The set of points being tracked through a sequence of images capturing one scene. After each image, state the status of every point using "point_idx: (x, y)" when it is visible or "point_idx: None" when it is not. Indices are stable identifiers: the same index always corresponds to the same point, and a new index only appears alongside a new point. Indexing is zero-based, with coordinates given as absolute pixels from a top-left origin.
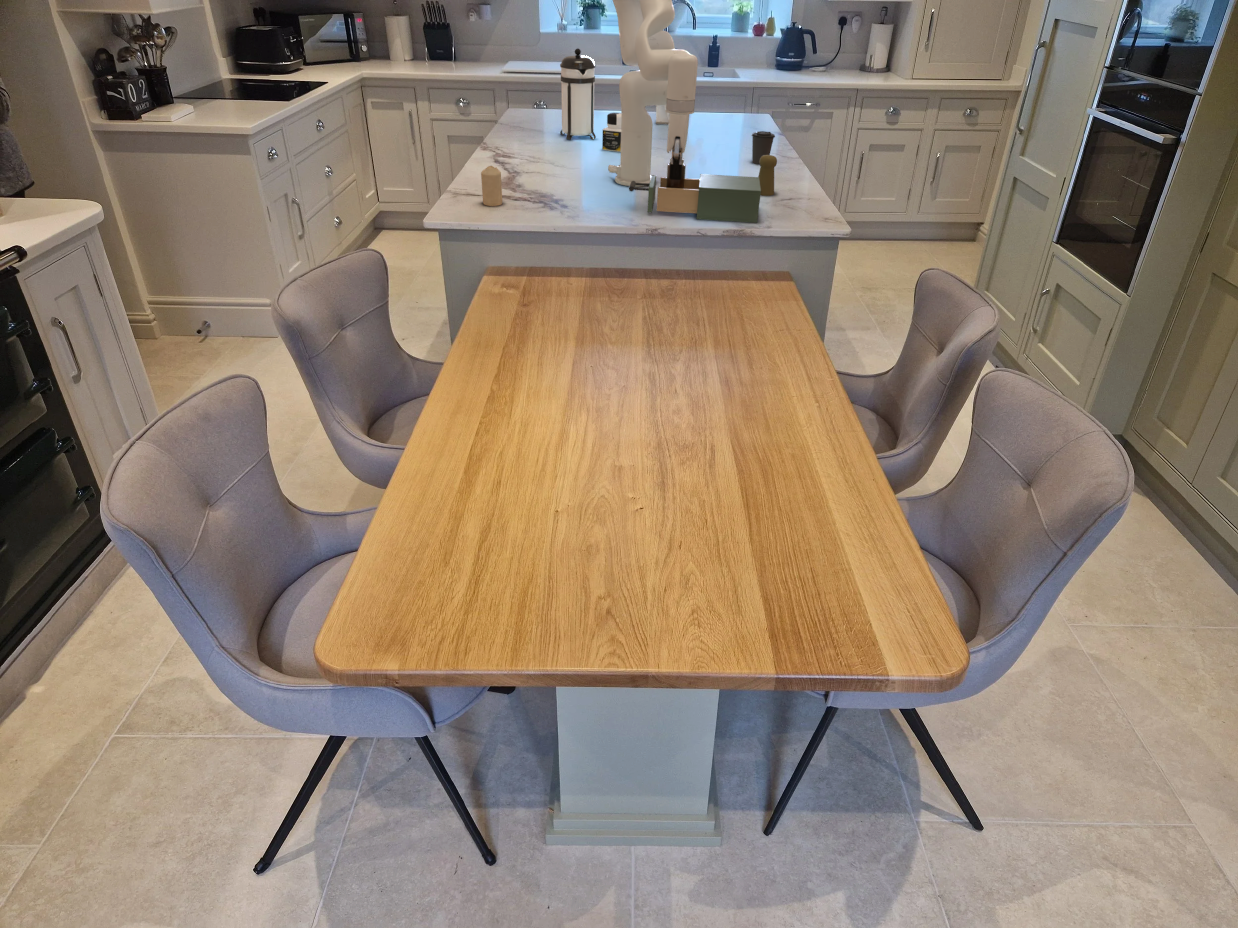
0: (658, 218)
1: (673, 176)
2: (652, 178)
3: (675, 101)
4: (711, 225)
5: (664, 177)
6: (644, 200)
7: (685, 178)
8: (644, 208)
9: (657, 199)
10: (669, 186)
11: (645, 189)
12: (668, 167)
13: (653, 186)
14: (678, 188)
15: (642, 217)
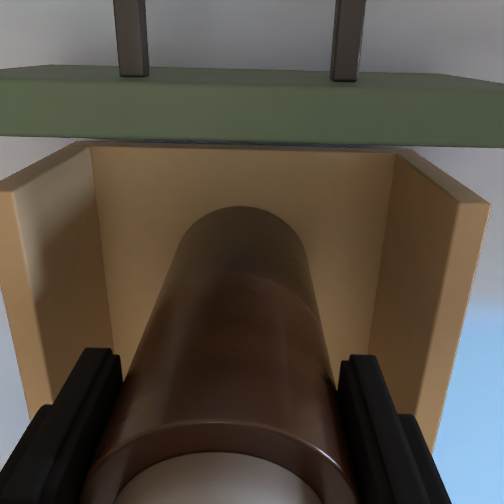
0: (27, 152)
1: (46, 410)
2: (375, 105)
3: None
4: (9, 435)
5: (467, 247)
6: (496, 10)
7: (431, 435)
8: (257, 26)
9: (37, 162)
10: (160, 297)
11: (119, 25)
12: (148, 410)
13: (22, 135)
14: (44, 384)
15: (6, 25)
